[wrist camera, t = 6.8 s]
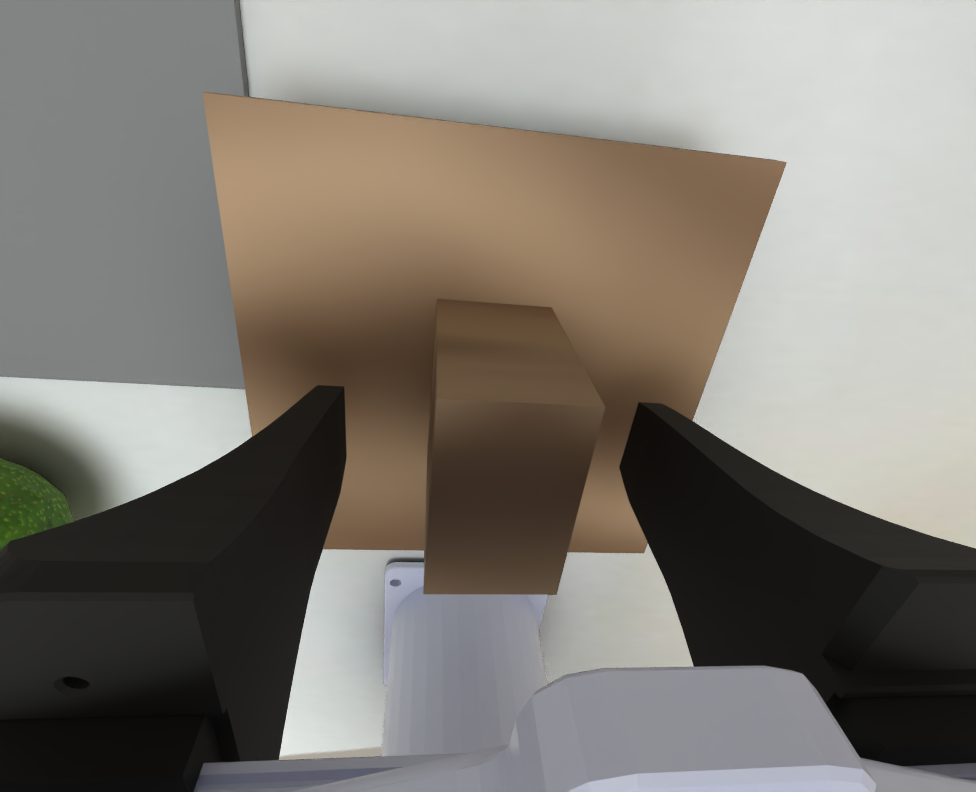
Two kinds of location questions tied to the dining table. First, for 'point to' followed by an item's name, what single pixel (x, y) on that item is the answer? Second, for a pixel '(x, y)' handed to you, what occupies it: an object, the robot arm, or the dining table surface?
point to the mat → (115, 191)
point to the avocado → (28, 503)
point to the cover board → (478, 236)
